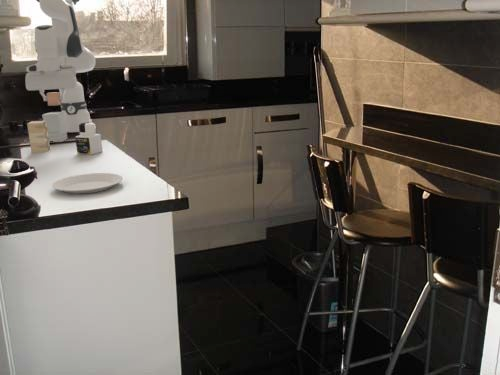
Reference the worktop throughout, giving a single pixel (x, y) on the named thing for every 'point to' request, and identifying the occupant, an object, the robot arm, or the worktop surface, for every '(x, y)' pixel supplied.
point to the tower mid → (38, 137)
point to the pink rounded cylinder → (53, 99)
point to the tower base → (40, 147)
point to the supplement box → (55, 126)
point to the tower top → (37, 126)
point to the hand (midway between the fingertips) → (53, 100)
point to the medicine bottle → (88, 139)
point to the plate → (87, 183)
